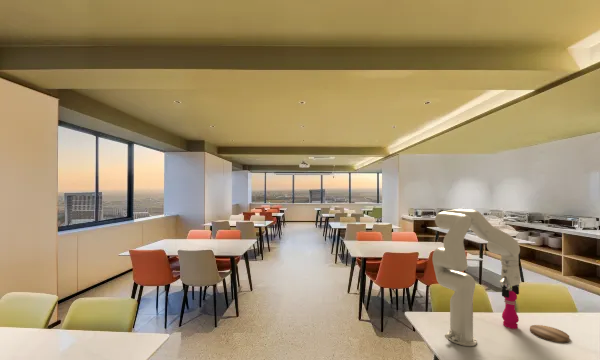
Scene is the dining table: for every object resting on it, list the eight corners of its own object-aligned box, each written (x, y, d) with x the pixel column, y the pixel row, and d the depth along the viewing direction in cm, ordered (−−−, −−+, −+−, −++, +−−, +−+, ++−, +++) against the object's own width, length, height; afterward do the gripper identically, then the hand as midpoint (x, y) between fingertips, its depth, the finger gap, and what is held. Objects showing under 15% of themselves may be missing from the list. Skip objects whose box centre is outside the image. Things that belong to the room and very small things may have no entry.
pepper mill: (521, 330, 152) (521, 290, 152) (505, 328, 153) (505, 289, 154) (514, 324, 159) (514, 286, 160) (499, 322, 160) (499, 285, 161)
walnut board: (561, 345, 137) (561, 342, 137) (523, 331, 150) (523, 328, 150) (575, 338, 144) (575, 335, 144) (538, 325, 157) (538, 322, 157)
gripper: (508, 266, 150) (509, 300, 149) (526, 262, 158) (527, 294, 158) (493, 263, 156) (493, 295, 156) (510, 259, 165) (511, 290, 164)
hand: (510, 295), depth 157 cm, fingers open, 9 cm apart
